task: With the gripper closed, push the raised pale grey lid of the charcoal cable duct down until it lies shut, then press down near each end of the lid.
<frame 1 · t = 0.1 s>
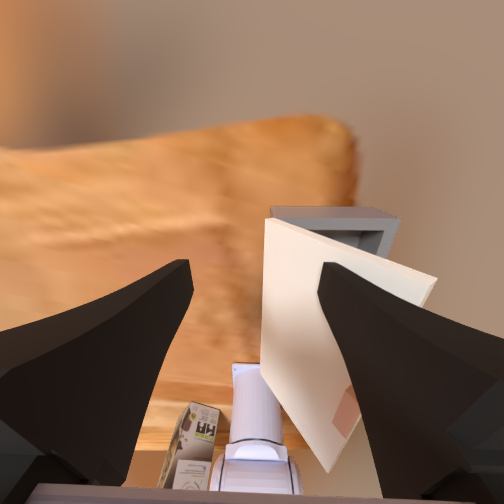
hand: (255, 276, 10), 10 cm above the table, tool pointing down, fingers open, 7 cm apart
duct lid: (299, 352, 15), point 9 cm above the table, hinge at 55.0°
cable duct: (307, 288, 23), on the table
coffee box: (198, 413, 38), on the table
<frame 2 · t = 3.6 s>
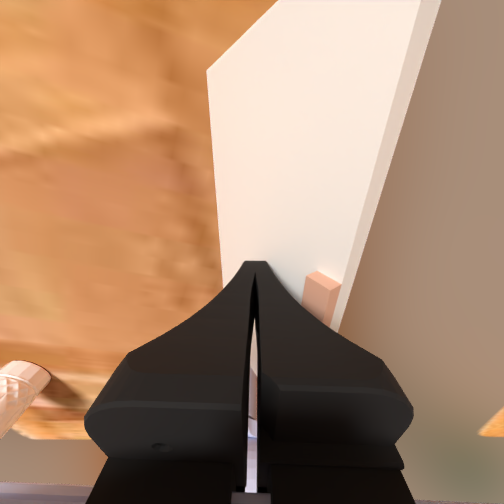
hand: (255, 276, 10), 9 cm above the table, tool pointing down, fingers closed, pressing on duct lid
duct lid: (257, 268, 11), point 9 cm above the table, hinge at 55.0°, touching gripper
white cup: (31, 370, 31), on the table
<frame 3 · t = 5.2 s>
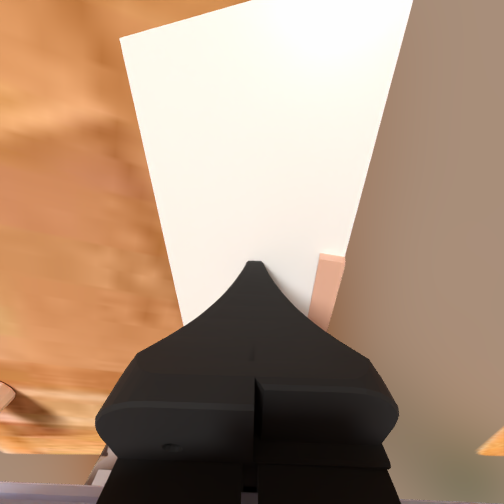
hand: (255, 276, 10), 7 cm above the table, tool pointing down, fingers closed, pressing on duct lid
duct lid: (239, 271, 10), point 6 cm above the table, hinge at 19.1°, touching gripper
coffee box: (145, 411, 31), on the table
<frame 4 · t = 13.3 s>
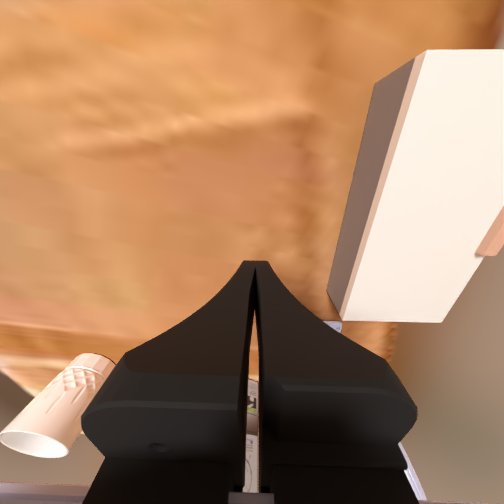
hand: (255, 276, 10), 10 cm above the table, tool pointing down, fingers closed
duct lid: (435, 228, 14), point 5 cm above the table, hinge at -0.3°, touching cable duct
cable duct: (394, 212, 19), on the table
white cup: (98, 363, 32), on the table
coffee box: (232, 387, 34), on the table
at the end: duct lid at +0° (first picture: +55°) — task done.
